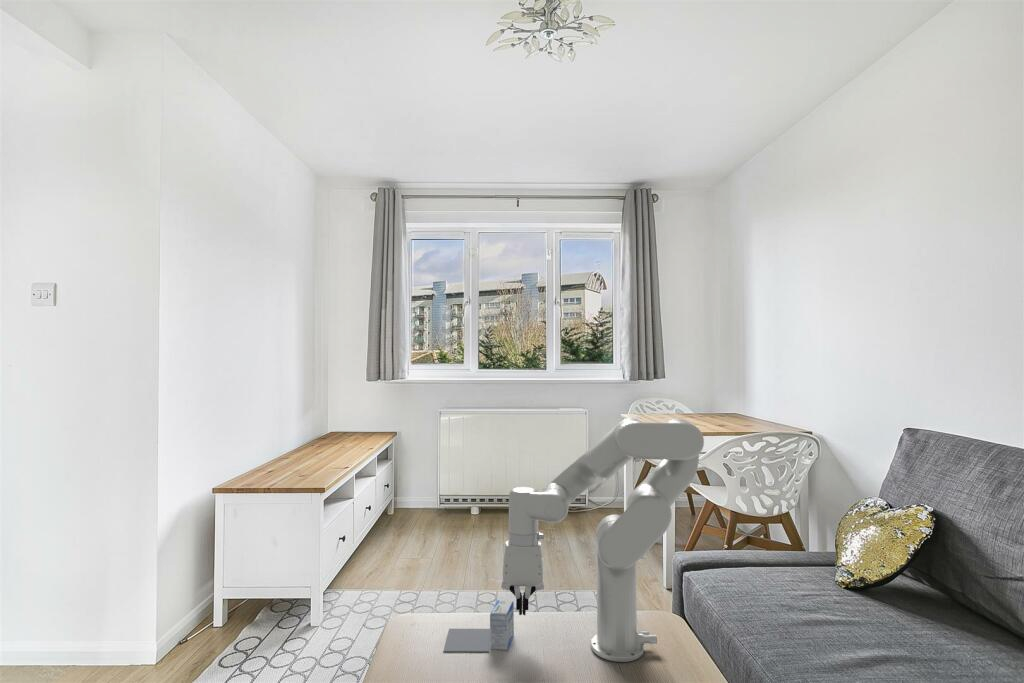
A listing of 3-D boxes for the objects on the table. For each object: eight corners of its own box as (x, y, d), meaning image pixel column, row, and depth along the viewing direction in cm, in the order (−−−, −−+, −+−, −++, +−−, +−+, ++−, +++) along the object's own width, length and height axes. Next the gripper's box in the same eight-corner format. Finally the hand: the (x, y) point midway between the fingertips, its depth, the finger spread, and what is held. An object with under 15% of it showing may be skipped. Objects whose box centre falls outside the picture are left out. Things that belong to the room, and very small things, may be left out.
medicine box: (507, 651, 128) (507, 614, 129) (489, 649, 129) (489, 612, 130) (514, 635, 136) (514, 600, 136) (497, 633, 137) (497, 599, 137)
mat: (491, 629, 138) (491, 628, 139) (489, 652, 128) (489, 651, 128) (449, 629, 139) (449, 628, 139) (443, 652, 128) (443, 650, 128)
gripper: (552, 533, 137) (551, 606, 137) (494, 532, 138) (493, 605, 137) (554, 543, 130) (553, 620, 129) (492, 542, 130) (491, 619, 129)
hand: (522, 612), depth 133 cm, fingers closed
